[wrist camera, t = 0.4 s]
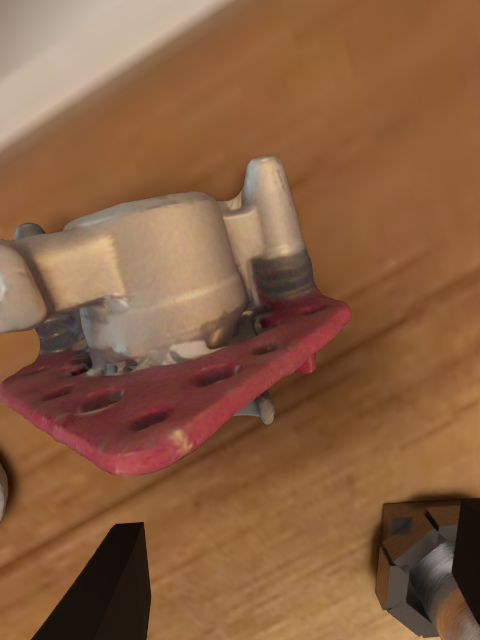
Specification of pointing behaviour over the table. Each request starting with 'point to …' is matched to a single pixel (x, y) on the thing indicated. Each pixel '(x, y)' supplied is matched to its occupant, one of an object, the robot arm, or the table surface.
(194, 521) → the table surface
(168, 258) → the brake caliper
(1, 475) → the ceramic mug
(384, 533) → the stud mount
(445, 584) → the silver cylinder with bar
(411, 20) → the table surface
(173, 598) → the table surface
